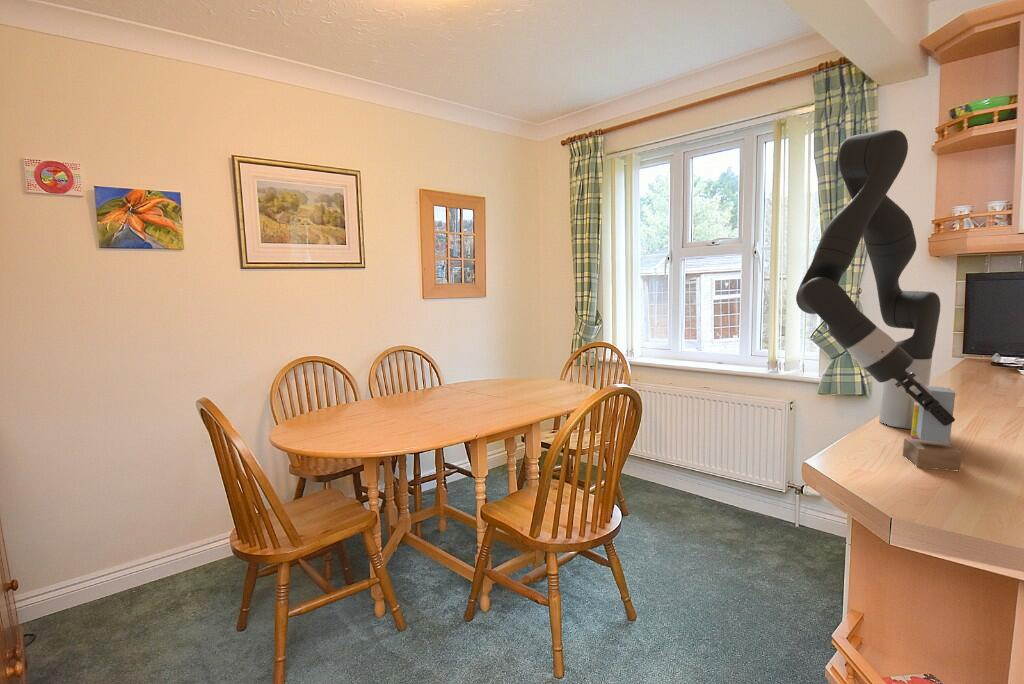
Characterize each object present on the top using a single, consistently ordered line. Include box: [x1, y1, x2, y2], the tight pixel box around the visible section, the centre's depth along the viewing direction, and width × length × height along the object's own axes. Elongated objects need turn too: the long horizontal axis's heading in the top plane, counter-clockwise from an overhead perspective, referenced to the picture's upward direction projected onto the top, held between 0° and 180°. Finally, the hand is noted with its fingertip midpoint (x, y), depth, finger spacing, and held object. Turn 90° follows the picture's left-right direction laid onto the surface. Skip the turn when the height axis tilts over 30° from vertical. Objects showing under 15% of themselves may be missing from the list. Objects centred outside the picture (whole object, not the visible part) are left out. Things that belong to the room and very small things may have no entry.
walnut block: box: [902, 437, 963, 472], centre depth 104 cm, size 7×7×4 cm
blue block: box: [916, 385, 956, 444], centre depth 103 cm, size 4×4×10 cm
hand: (946, 419), depth 102 cm, fingers closed on blue block, 4 cm apart
